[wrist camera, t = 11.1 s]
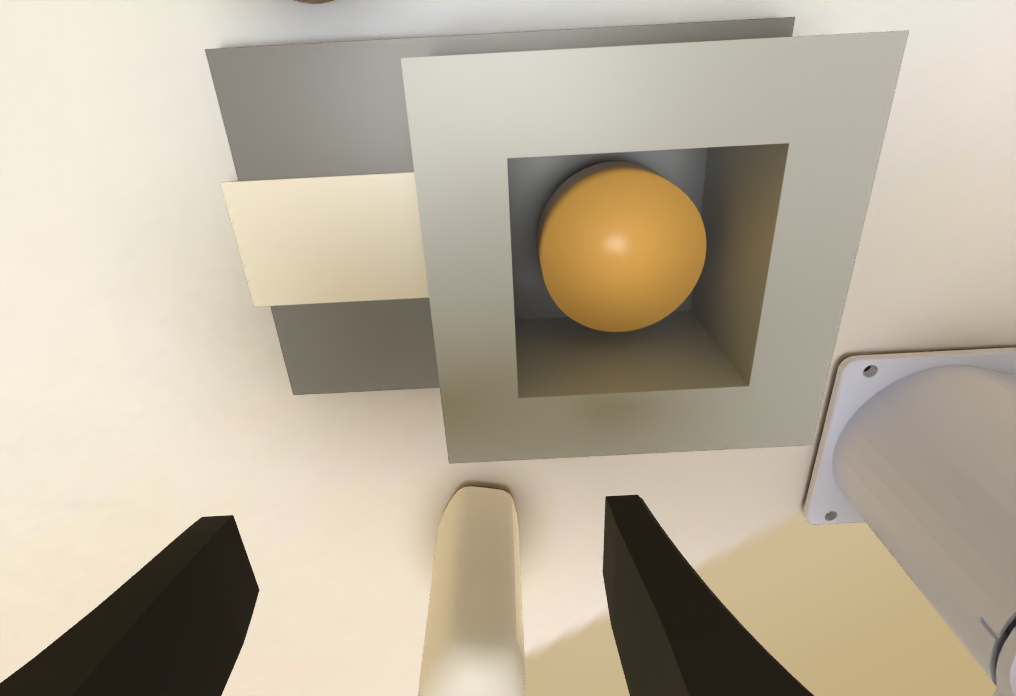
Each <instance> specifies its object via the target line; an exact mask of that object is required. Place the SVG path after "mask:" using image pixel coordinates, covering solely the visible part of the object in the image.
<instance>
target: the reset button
mask: <svg viewBox="0 0 1016 696" xmlns="http://www.w3.org/2000/svg"><path fill="white" fill-rule="evenodd" d="M537 249H538V255H539V260H540V265H541V269H542V274H543V278H544V282H545V285H546V287H547V290H548V292H549V294H550V296H551V297H552V299H553V301H554V302H555V303H556V305H557V306H558V307H559V308H560V309H561V310H562V311H563V312H564V313H565V314H566V315H567V316H569V317H570V318H571V319H573V320H574V321H576V322H578V323H580V324H581V325H584V326H586V327H589V328H592V329H596V330H599V331H607V332H625V331H632V330H636V329H641V328H644V327H646V326H649V325H652V324H654V323H656V322H658V321H660V320H661V319H663V318H665V317H666V316H668V315H669V314H670V313H672V312H673V311H674V310H675V309H677V308H678V307H679V306H680V305H681V304H682V303H683V302H684V301H685V299H686V298H687V297H688V296H689V294H690V293H691V292H692V290H693V288H694V287H695V285H696V283H697V281H698V279H699V277H700V275H701V272H702V269H703V266H704V262H705V256H706V233H705V228H704V224H703V221H702V218H701V216H700V213H699V212H698V210H697V208H696V206H695V205H694V203H693V202H692V201H691V200H690V198H689V197H688V196H687V195H686V194H685V193H684V192H683V191H682V190H681V189H679V188H678V187H677V186H675V185H674V184H673V183H671V182H670V181H668V180H667V179H666V178H664V177H663V176H661V175H660V174H658V173H657V172H655V171H654V170H652V169H650V168H648V167H646V166H643V165H640V164H637V163H632V162H626V161H611V162H603V163H599V164H595V165H592V166H590V167H587V168H585V169H583V170H581V171H579V172H577V173H576V174H574V175H573V176H571V177H570V178H568V179H567V180H566V181H565V182H564V183H563V184H562V185H561V186H559V187H558V189H557V190H556V191H555V192H554V193H553V195H552V196H551V198H550V199H549V201H548V202H547V204H546V206H545V208H544V210H543V212H542V215H541V218H540V221H539V226H538V231H537Z"/></svg>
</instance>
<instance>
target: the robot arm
mask: <svg viewBox="0 0 1016 696" xmlns="http://www.w3.org/2000/svg"><path fill="white" fill-rule="evenodd" d="M870 365H871V367H870V369H869V370H868V371H866V372H863V371H864V369H865V368H866V367H868V366H870ZM828 512H830V513H828ZM803 515H804V516H805V518H806V519H807V521H808V522H809V523H811V524H815V525H816V524H817V525H819V524H838V523H857V522H866V523H867V524H868V525H869V527H870V528H871V529H872V531H873V532H874V533H875V534H876V536H877V537H878V538H879V539H880V541H881V542H882V543H883V544H884V546H885V547H886V548H887V549H888V550H889V552H890V553H891V554H892V556H893V557H894V558H895V559H896V560H897V562H898V563H899V564H900V566H901V567H902V568H903V569H904V571H905V572H906V573H907V575H908V576H909V577H910V578H911V580H912V581H913V582H914V583H915V585H916V586H917V587H918V588H919V590H920V591H921V592H922V593H923V595H924V596H925V597H926V598H927V600H928V601H929V602H930V603H931V605H932V606H933V607H934V608H935V610H936V611H937V612H938V613H939V615H940V616H941V617H942V618H943V619H944V621H945V622H946V623H947V624H948V626H949V627H950V629H951V630H952V631H953V632H954V633H955V635H956V636H957V637H958V638H959V640H960V641H961V642H962V644H963V645H964V646H965V647H966V648H967V650H968V651H969V652H970V654H971V655H972V656H973V657H974V659H975V660H976V661H977V662H978V664H979V665H980V666H981V667H982V668H983V670H984V671H985V672H986V674H987V675H988V676H989V677H990V679H991V680H992V681H993V683H994V684H995V685H996V689H995V692H994V693H993V695H992V696H1016V347H1011V348H992V349H973V350H953V351H934V352H915V353H896V354H876V355H857V356H851V357H848V358H846V359H844V360H843V361H842V362H841V363H840V365H839V367H838V371H837V375H836V379H835V383H834V387H833V391H832V395H831V399H830V403H829V408H828V412H827V416H826V420H825V424H824V428H823V432H822V436H821V441H820V445H819V449H818V453H817V457H816V461H815V465H814V469H813V473H812V478H811V482H810V486H809V490H808V494H807V498H806V502H805V506H804V511H803ZM603 577H604V583H605V590H606V596H607V602H608V608H609V614H610V620H611V626H612V630H613V634H614V637H615V641H616V645H617V648H618V652H619V656H620V660H621V664H622V668H623V671H624V675H625V679H626V682H627V686H628V690H629V693H630V696H814V695H813V694H812V693H811V692H809V691H808V690H807V689H806V688H805V687H804V686H803V685H802V684H801V683H800V682H798V680H796V679H795V678H794V677H793V676H792V675H791V674H790V673H789V672H788V671H787V670H786V669H785V668H784V667H783V666H782V665H781V664H780V663H779V662H778V661H776V659H775V658H773V656H771V655H770V654H769V653H768V652H767V651H766V650H765V649H764V648H763V646H762V645H760V643H759V642H758V641H757V640H756V639H755V638H754V637H753V636H752V635H751V634H750V633H749V632H748V631H747V630H746V629H745V628H744V627H743V626H742V625H741V624H740V623H739V621H738V620H737V619H736V618H735V617H734V616H733V615H732V614H731V612H730V611H729V610H728V609H727V608H726V607H725V606H724V605H723V604H722V603H721V601H720V600H719V599H718V598H717V597H716V596H715V594H714V593H713V592H712V591H711V590H710V589H709V587H708V586H707V585H706V584H705V583H704V582H703V580H702V579H701V578H700V576H699V575H698V574H697V573H696V571H695V570H694V569H693V568H692V567H691V565H690V564H689V563H688V562H687V560H686V559H685V558H684V557H683V555H682V554H681V553H680V551H679V550H678V549H677V547H676V546H675V545H674V543H673V542H672V541H671V539H670V538H669V537H668V535H667V534H666V533H665V531H664V530H663V529H662V527H661V526H660V524H659V523H658V522H657V520H656V519H655V517H654V516H653V514H652V513H651V511H650V510H649V508H648V507H647V505H646V504H645V502H644V501H643V499H642V498H640V497H639V496H638V495H625V496H606V501H605V528H604V555H603ZM258 593H259V588H258V585H257V582H256V579H255V576H254V573H253V571H252V568H251V565H250V562H249V559H248V556H247V553H246V551H245V548H244V545H243V542H242V539H241V536H240V533H239V531H238V528H237V525H236V522H235V519H234V516H233V515H231V516H211V517H201V518H200V519H199V520H198V521H196V522H195V523H194V524H193V525H191V526H190V527H189V528H188V529H187V530H185V531H184V532H183V533H182V534H181V535H180V536H178V537H177V538H176V539H175V540H174V541H173V542H171V543H170V544H169V545H168V546H167V547H166V548H165V549H163V550H162V551H161V552H160V553H159V554H158V555H157V556H155V557H154V558H153V559H152V560H151V561H150V562H149V563H147V564H146V565H145V566H144V567H143V568H142V569H141V570H139V571H138V572H137V573H136V574H135V575H134V576H132V577H131V578H130V579H129V580H128V581H127V582H125V583H124V584H123V585H122V586H121V587H120V588H119V589H117V590H116V591H115V592H114V593H113V594H112V595H110V596H109V597H108V598H107V599H106V600H105V601H103V602H102V603H101V604H100V605H99V606H98V607H96V608H95V609H94V610H93V611H91V612H90V613H89V614H88V615H87V616H85V617H84V618H83V619H82V620H80V621H79V622H78V623H77V624H75V625H74V626H73V627H72V628H70V629H69V630H68V631H67V632H65V633H64V634H63V635H62V636H61V637H59V638H58V639H57V640H56V641H54V642H53V643H52V644H51V645H49V646H48V647H47V648H46V649H44V650H43V651H42V652H41V653H39V654H38V655H37V656H36V657H34V658H33V659H32V660H31V661H29V662H28V663H27V664H25V665H24V666H23V667H21V668H20V669H19V670H17V671H16V672H15V673H13V674H12V675H11V676H9V677H8V678H7V679H5V680H4V681H3V682H1V683H0V696H221V695H222V692H223V690H224V688H225V686H226V683H227V681H228V679H229V676H230V674H231V672H232V669H233V667H234V665H235V662H236V660H237V658H238V655H239V653H240V650H241V648H242V646H243V643H244V640H245V637H246V634H247V630H248V627H249V624H250V621H251V618H252V614H253V610H254V607H255V603H256V600H257V596H258Z"/></svg>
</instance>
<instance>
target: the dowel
mask: <svg viewBox="0 0 1016 696" xmlns="http://www.w3.org/2000/svg"><path fill="white" fill-rule="evenodd" d="M295 1H299V2H303V3H311V4H316V3H326V2H331V1H334V0H295Z"/></svg>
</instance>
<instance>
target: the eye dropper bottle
mask: <svg viewBox="0 0 1016 696" xmlns="http://www.w3.org/2000/svg"><path fill="white" fill-rule="evenodd" d="M418 696H525V658H524V635H523V613H522V592H521V571H520V551H519V530H518V518H517V512H516V507H515V504H514V501H513V498H512V496H511V495H510V494H509V493H508V492H506V491H503V490H499V489H492V488H483V487H473V486H469V487H463V488H461V489H459V490H458V491H457V492H456V493H455V495H454V496H453V497H452V499H451V500H450V502H449V503H448V505H447V507H446V509H445V511H444V513H443V516H442V518H441V521H440V525H439V529H438V534H437V542H436V550H435V558H434V566H433V575H432V583H431V591H430V599H429V607H428V616H427V624H426V632H425V640H424V649H423V657H422V665H421V674H420V682H419V692H418Z"/></svg>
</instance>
